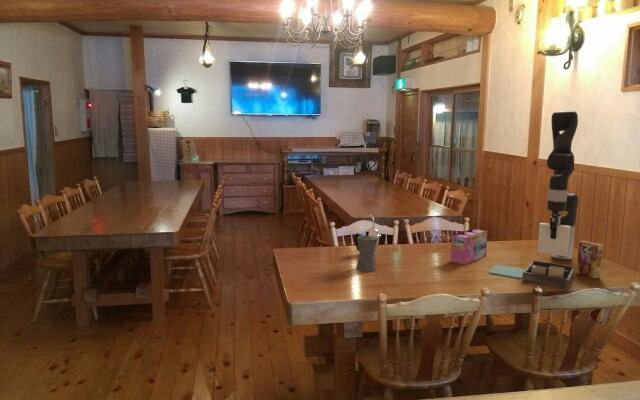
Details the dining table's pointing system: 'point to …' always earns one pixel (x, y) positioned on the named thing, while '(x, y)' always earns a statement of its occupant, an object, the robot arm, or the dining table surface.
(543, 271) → the grey mdf offcut
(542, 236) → the white square slab
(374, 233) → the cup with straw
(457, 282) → the dining table surface
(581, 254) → the candy box
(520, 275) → the teal mat
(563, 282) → the tray
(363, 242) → the coffeepot
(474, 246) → the pink multipack
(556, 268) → the birch offcut
